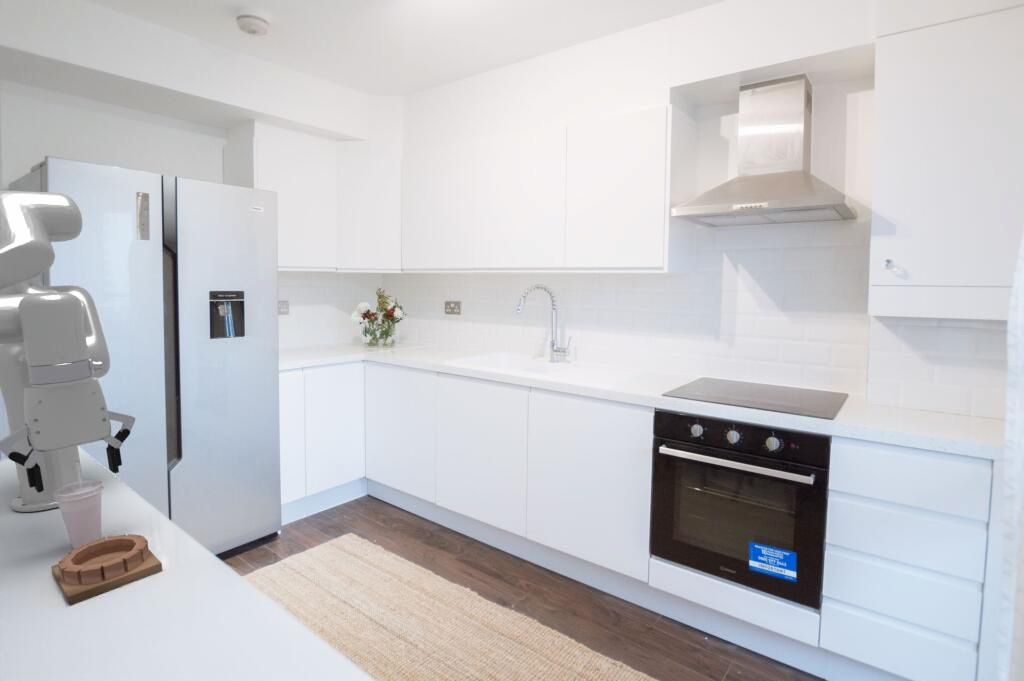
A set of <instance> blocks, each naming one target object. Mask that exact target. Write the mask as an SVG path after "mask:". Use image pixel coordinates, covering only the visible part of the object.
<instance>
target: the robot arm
mask: <svg viewBox="0 0 1024 681" xmlns="http://www.w3.org/2000/svg"><path fill="white" fill-rule="evenodd" d="M82 229H83V217H82V213H81V210H80V208H79V206H78V204H77V202H76V201H74V199H72V198H71V197H70V196H69V195H68V194H65V193H61V192H51V191H49V192H47V191H27V190H26V191H24V190H0V392H1V395H2V398H3V403H4V406H5V411H6V416H7V421H8V422H7V423H8V426H9V427H8V428H9V433H10V434H9V435H7V436H5V437H4V438H2V439H1V440H0V451H1V452H2V453H3V454H4V455H5V457H7V458H8V459H9V460H10V461H12V462H14V464H15V468H16V475H17V480H18V485H19V493H20V494H19V495H18V496H16V497H15V498H13V499H12V500H11V502H10V504H11V509H12V510H13V511H16V512H19V513H21V512H22V513H26V512H27V513H29V512H30V513H33V512H41V511H46V510H51V509H56V508H59V505H58V501H56V500H54V492H55V491H56V490H57V489H59V488H61V487H63V486H65V485H68V484H72V483H75V482H78V477H77V470H76V464H75V462H76V461H80V462H81V459H80V452H79V446H81V445H86V444H90V443H94V442H99V441H104V442H105V443H107V447H106V448H105V450H106V457H107V463H108V464H107V465H108V469H109V471H111V473H113V474H118V473H120V470H119V467H120V466H122V465H123V462H122V461H123V460H122V455H121V447H122V446H123V443H124V442H125V441H126V439H127V438H128V437H129V436H130V434H131V431H132V429H133V426H134V424H135V423H136V417H134V416H132V415H128V414H123V413H119V412H114V411H111V410H108V406H107V403H106V402H107V401H106V399H105V396H104V395H105V394H104V392H103V389H102V387H101V384H100V381H99V379H101V378H102V377H105V376H106V375H107V374H108V372H109V371H110V368H111V359H110V358H111V357H110V354H109V353H110V352H109V348H108V345H107V342H106V337H105V334H104V332H103V327H102V325H101V324H102V323H101V321H100V317H99V314H98V311H97V310H98V309H97V307H96V304H95V302H94V299H93V297H92V295H91V293H89V291H88V290H87V289H85V288H83V287H81V286H78V285H43V283H42V281H41V277H40V275H42V274H43V273H45V272H46V271H48V270H49V269H50V268H51V267H52V266H53V264H54V262H55V259H56V254H55V249H54V247H53V245H52V243H58V242H59V243H60V242H67V241H71V240H74V239H77V238H78V237H79V236H80V234H81V233H82ZM111 421H116V422H120V423H122V425H121V428H120V429H119V430H118V432H117V433H116V434H115V435H114V436H113V435H112V425H111ZM80 467H81V468H82V466H81V464H80ZM81 474H82V475H83V472H82V470H81ZM82 480H83V481H84V479H83V477H82Z"/></svg>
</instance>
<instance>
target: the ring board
mask: <svg viewBox="0 0 1024 681" xmlns="http://www.w3.org/2000/svg"><path fill="white" fill-rule="evenodd" d="M162 571H163V565H162V562H161V561H160V559H159V558H157V556H156V555H155V554H154V553H153V552H152V551H151V550H150V549H149V544H148V539H147V538H146V537H145V536H144V535H141V534H133V533H128V534H125V533H123V534H119V535H113V536H108V537H107V538H106V537H101V539H99V540H96V541H93V542H90V543H87V545H82V546H80V547H78V548H76V549H73V550H70V551H69V552H68V553H66V554H64V555H63V557H62V558H61V559H60V560H59V561H58V563H55V564H54V565H51V573H52V576H53V577H54V579H55V581H56V583H57V585H58V587H59V588H60V591H61V593H62V594H63V597H64V598H65V600H66V602H67V604H68V606H71V605H74V604H77V603H79V602H82V601H85V600H87V599H90V598H93V597H95V596H98V595H102V594H103V593H106V592H109V591H111V590H114V589H117V588H120V587H122V586H125V585H128V584H130V583H132V582H136V581H138V579H139V580H141V579H143V578H146V577H149V576H151V575H154V574H156V573H159V572H160V573H161V572H162ZM135 580H136V581H135Z"/></svg>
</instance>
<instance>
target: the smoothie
mask: <svg viewBox="0 0 1024 681" xmlns="http://www.w3.org/2000/svg"><path fill="white" fill-rule="evenodd" d="M75 464H76V470H77V477H78V482H75V483H72V484H68V485H65V486H63V487H61V488H59V489H57V490H56V491H55V492H54V500H56V501H58V505H59V507H58V508H59V510H60V513H61V516H62V519H63V523H64V525H65V529H66V531H67V534H68V537H69V540H70V543H71V546H72V549H73V550H74V549H76V548H78V547H80V546H82V545H87V543H90V542H93V541H96V540H99V539H102V491H103V490H104V483H103V481H101V480H98V479H87V480H84V479H83V480H82V478H83V473H82V474H81V471H82V466H81V467H80V465H81V460H80V461H76V462H75Z"/></svg>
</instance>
